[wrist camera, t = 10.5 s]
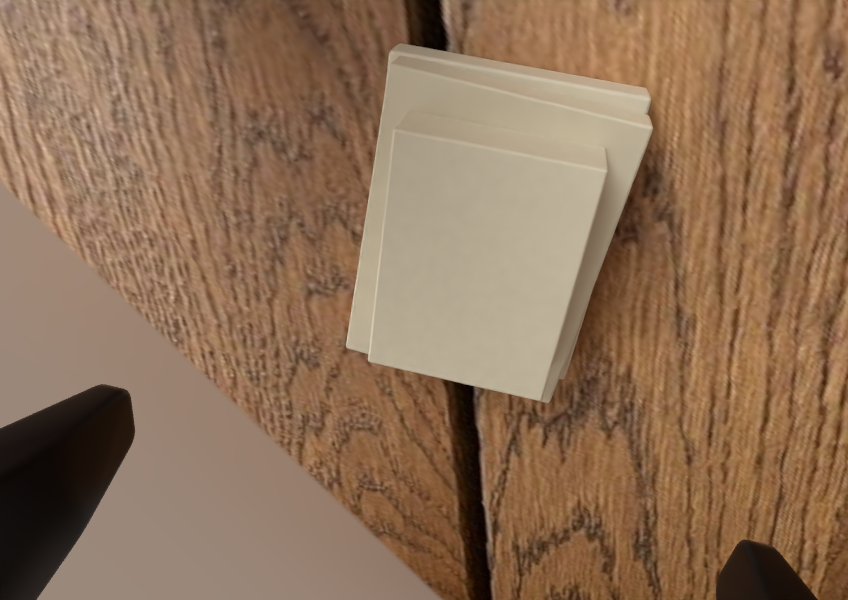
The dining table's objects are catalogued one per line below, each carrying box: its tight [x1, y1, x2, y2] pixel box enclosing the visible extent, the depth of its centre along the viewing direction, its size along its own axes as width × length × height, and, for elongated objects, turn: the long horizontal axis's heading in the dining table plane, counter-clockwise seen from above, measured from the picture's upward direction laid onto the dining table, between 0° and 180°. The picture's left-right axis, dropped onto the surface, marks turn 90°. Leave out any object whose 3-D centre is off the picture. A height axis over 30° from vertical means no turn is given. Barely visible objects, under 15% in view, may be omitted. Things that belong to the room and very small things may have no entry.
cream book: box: [368, 111, 608, 401], centre depth 16 cm, size 6×4×2 cm
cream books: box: [346, 43, 653, 403], centre depth 17 cm, size 8×6×2 cm
